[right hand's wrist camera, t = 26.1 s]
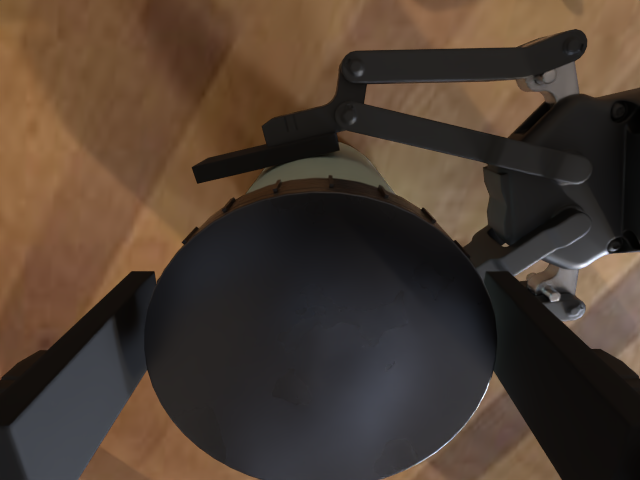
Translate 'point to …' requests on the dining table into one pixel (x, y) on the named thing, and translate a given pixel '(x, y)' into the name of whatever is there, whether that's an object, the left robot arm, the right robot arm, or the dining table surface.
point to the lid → (320, 333)
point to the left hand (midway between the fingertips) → (232, 258)
